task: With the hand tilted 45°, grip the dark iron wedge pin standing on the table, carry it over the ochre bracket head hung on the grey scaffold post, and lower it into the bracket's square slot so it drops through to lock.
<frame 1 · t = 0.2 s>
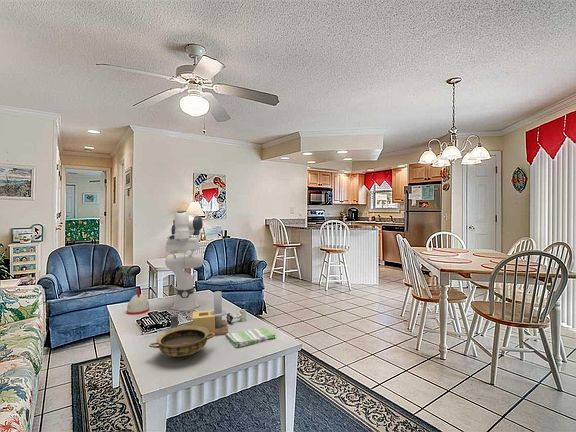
hand: (183, 257, 197), 39 cm above the table, tool pointing down, fingers open, 8 cm apart
dish towel: (250, 339, 169), on the table
base board: (204, 330, 180), on the table
kitchen timer: (138, 311, 214), on the table
bracket post: (204, 327, 180), resting on base board
wedge pin: (174, 333, 175), on the table
ceramic bowl: (183, 355, 150), on the table
valve: (237, 322, 193), on the table
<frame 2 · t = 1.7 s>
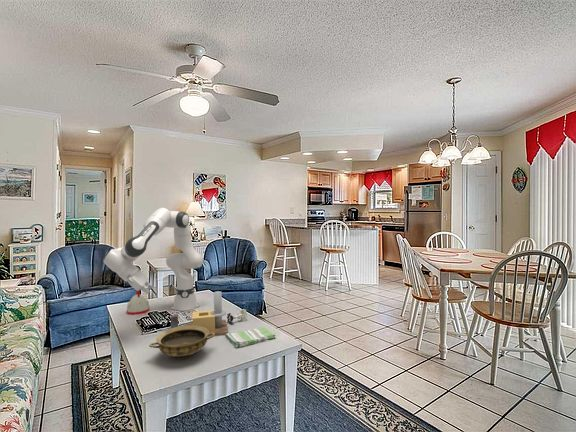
hand: (150, 290, 171), 26 cm above the table, tool tilted 45°, fingers open, 8 cm apart
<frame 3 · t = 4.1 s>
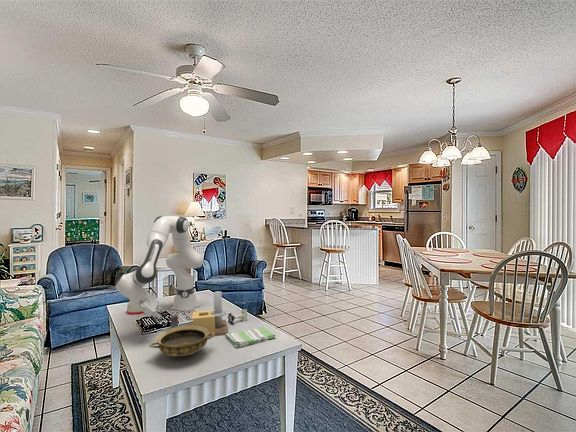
hand: (161, 314, 173), 12 cm above the table, tool tilted 45°, fingers open, 8 cm apart
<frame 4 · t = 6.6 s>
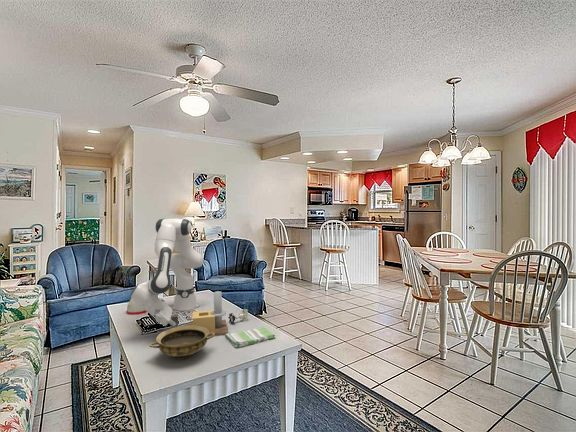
hand: (175, 323, 175), 6 cm above the table, tool tilted 45°, fingers closed on wedge pin, 4 cm apart
wedge pin: (174, 333, 175), on the table, touching gripper
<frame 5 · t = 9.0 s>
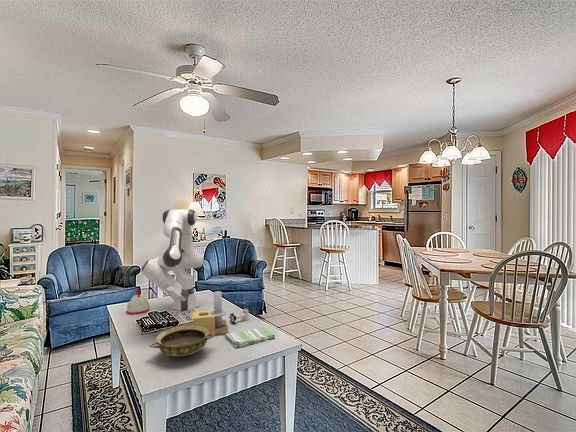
hand: (185, 299, 176), 19 cm above the table, tool tilted 45°, fingers closed on wedge pin, 4 cm apart
wedge pin: (184, 309, 176), point 13 cm above the table, touching gripper
when the fingers open (12 cm above the table, at t = 11.7 s): wedge pin drops 4 cm, resting on base board.
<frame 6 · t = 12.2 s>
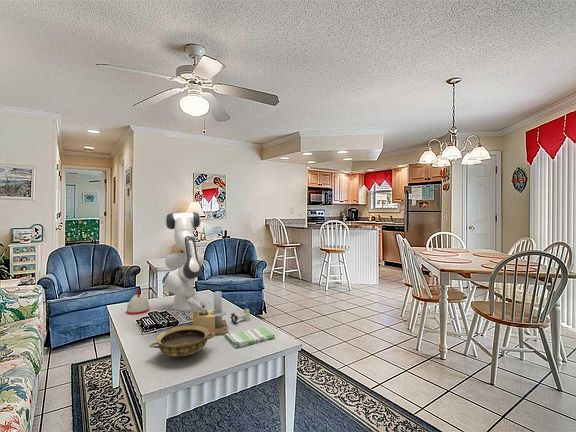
hand: (204, 309, 179), 12 cm above the table, tool tilted 45°, fingers open, 8 cm apart
wedge pin: (204, 327, 180), point 1 cm above the table, touching base board
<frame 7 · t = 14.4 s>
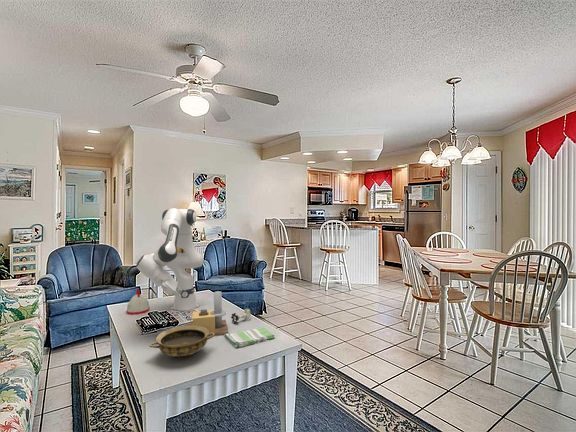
hand: (181, 294, 176), 22 cm above the table, tool tilted 45°, fingers open, 8 cm apart
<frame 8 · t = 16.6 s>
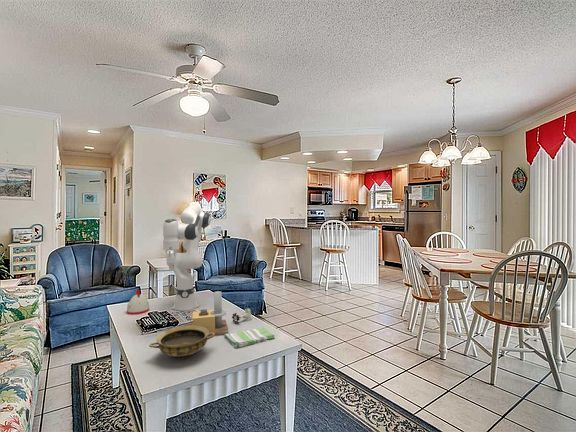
hand: (171, 269, 185), 34 cm above the table, tool pointing down, fingers open, 8 cm apart
at the end: wedge pin 0.1 cm off-centre on the bracket post, point 0.0 cm above the bracket post's base; wedge pin tilted 0°; the gripper is holding nothing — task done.
